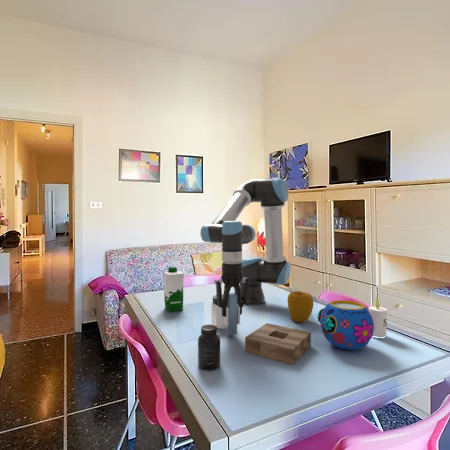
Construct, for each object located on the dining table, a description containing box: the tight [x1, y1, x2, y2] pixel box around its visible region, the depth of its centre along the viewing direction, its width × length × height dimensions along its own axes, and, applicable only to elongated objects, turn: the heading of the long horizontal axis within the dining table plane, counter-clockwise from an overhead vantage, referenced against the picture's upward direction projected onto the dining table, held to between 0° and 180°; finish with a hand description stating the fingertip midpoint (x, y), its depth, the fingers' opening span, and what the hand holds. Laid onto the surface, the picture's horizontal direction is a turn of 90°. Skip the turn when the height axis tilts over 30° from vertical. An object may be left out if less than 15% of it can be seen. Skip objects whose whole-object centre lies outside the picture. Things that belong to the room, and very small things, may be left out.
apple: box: [287, 290, 314, 323], centre depth 140 cm, size 11×11×13 cm
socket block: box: [244, 322, 312, 366], centre depth 110 cm, size 17×17×5 cm
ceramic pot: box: [317, 299, 374, 351], centre depth 112 cm, size 18×18×15 cm
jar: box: [211, 294, 227, 330], centre depth 133 cm, size 9×8×12 cm
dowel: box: [226, 292, 238, 336], centre depth 120 cm, size 4×4×15 cm
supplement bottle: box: [197, 324, 221, 371], centre depth 97 cm, size 7×7×12 cm
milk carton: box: [163, 266, 184, 313], centre depth 155 cm, size 9×9×20 cm
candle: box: [368, 296, 388, 337], centre depth 122 cm, size 6×6×15 cm
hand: (231, 323), depth 120 cm, fingers closed on dowel, 4 cm apart
